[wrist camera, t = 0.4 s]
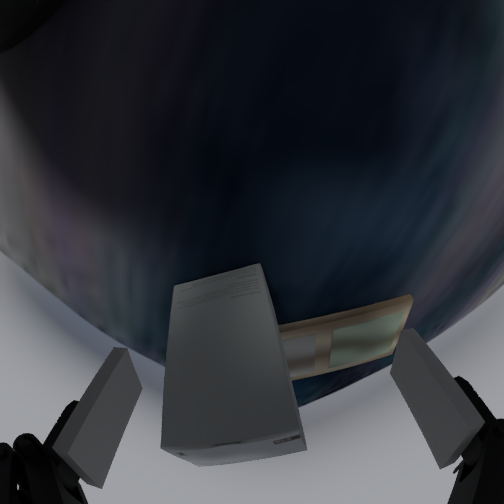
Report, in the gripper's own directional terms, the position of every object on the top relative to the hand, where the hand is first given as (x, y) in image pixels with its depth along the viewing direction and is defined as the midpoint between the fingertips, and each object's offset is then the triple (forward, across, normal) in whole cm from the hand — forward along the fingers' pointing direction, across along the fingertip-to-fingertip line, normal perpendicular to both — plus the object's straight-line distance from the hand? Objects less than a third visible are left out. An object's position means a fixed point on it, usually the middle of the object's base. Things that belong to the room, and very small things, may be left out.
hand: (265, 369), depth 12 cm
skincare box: (+14, -3, -2) cm, 14 cm away
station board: (+18, +7, -13) cm, 23 cm away
